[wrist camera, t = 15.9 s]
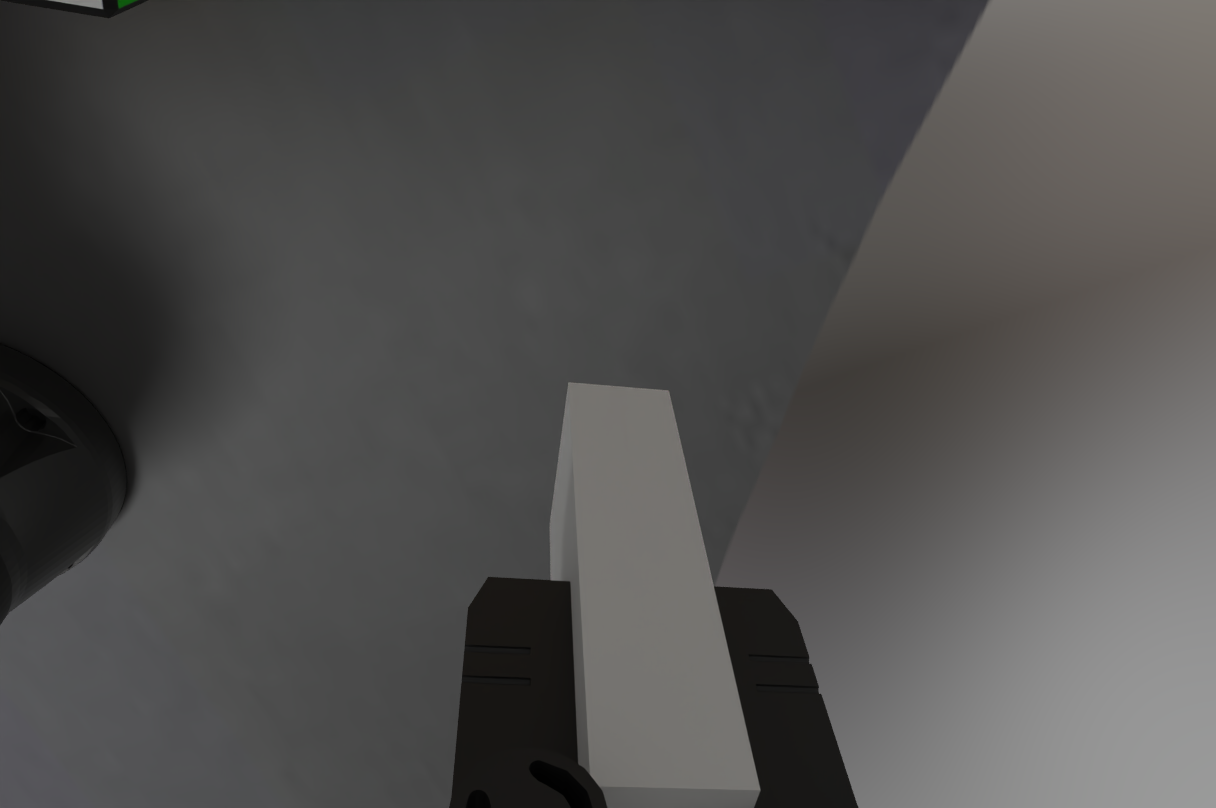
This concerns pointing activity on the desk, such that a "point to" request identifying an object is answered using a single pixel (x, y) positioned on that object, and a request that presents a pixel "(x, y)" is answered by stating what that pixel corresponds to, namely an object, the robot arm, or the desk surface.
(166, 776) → the desk surface
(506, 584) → the robot arm
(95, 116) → the desk surface
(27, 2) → the puzzle cube
